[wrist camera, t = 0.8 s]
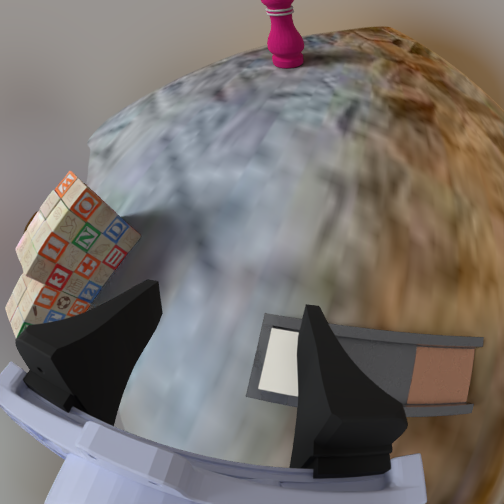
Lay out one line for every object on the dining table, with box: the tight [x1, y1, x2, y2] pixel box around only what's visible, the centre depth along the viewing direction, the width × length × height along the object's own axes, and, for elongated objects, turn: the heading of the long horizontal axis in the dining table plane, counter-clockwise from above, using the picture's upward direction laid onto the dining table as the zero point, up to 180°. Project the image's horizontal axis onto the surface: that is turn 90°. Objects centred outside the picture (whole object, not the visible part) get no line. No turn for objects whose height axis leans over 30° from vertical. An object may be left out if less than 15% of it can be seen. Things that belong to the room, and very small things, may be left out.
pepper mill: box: [261, 0, 304, 68], centre depth 36 cm, size 7×7×20 cm
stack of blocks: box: [5, 171, 141, 338], centre depth 28 cm, size 21×6×12 cm, turn 142°
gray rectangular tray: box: [246, 313, 484, 417], centre depth 22 cm, size 8×24×2 cm, turn 78°
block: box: [258, 328, 299, 397], centre depth 22 cm, size 5×5×6 cm
